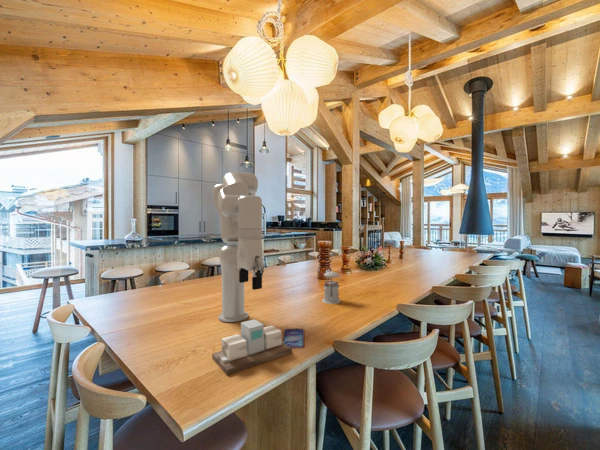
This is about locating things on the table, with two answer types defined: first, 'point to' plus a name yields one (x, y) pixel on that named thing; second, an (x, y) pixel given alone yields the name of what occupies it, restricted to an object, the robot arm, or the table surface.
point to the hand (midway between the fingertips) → (250, 285)
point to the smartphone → (294, 338)
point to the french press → (331, 288)
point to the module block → (253, 335)
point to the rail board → (238, 357)
